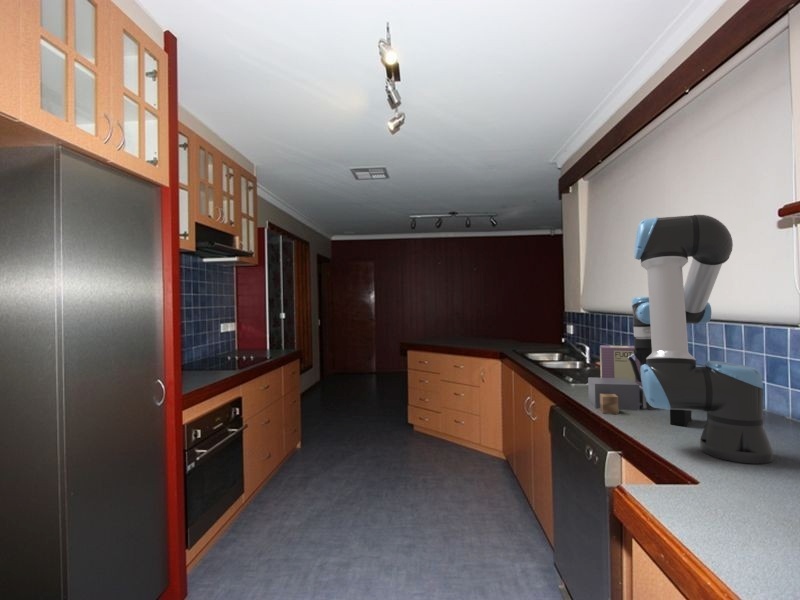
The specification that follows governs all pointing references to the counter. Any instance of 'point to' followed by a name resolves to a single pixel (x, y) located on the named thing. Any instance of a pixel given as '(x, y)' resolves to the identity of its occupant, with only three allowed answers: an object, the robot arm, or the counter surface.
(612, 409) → the wooden block
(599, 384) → the housing
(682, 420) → the electronic device
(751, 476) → the counter surface
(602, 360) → the box
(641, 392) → the tray
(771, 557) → the counter surface
